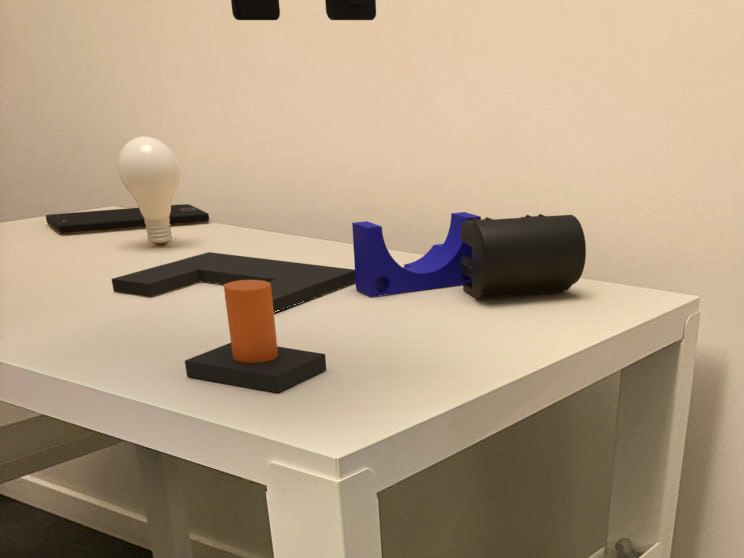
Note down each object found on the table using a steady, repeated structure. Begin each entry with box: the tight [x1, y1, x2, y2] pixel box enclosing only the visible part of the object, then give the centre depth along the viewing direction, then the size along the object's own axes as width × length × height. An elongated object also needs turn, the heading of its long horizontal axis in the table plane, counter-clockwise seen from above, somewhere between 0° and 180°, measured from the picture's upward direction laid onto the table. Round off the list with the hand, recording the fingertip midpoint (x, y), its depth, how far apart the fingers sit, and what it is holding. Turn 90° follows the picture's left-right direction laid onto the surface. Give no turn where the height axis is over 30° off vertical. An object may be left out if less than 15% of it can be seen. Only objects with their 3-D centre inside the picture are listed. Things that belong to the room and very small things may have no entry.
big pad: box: [111, 251, 356, 312], centre depth 94 cm, size 18×14×1 cm
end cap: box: [460, 213, 587, 300], centre depth 90 cm, size 10×7×7 cm
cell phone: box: [45, 203, 210, 234], centre depth 122 cm, size 9×18×1 cm, turn 121°
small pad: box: [184, 280, 327, 394], centre depth 70 cm, size 8×6×6 cm
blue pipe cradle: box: [351, 211, 482, 298], centre depth 94 cm, size 12×4×6 cm, turn 122°
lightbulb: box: [117, 135, 181, 247], centre depth 107 cm, size 6×6×11 cm
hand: (302, 19), depth 59 cm, fingers open, 9 cm apart
